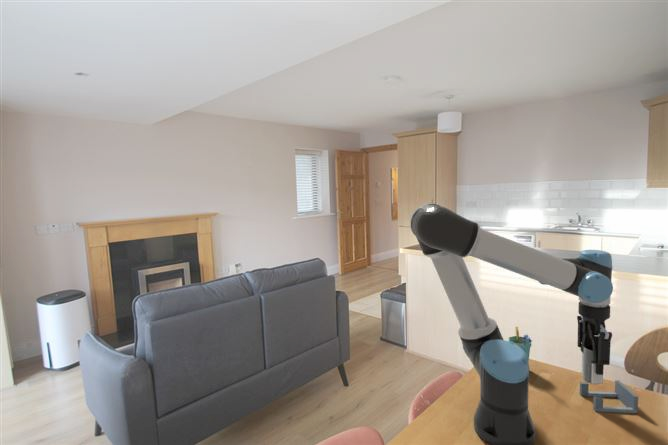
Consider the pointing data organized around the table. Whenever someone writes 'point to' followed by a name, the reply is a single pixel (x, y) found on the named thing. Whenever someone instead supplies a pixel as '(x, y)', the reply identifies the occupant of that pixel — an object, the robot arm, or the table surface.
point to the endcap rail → (620, 392)
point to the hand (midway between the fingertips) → (591, 378)
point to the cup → (521, 342)
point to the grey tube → (587, 362)
